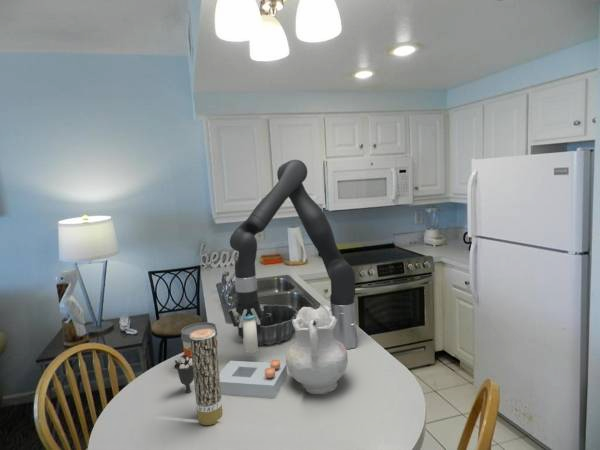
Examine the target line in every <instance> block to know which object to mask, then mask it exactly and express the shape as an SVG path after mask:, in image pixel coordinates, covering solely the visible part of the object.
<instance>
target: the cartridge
mask: <svg viewBox="0 0 600 450" xmlns="http://www.w3.org/2000/svg"><path fill="white" fill-rule="evenodd" d="M240 317H241V315H240ZM255 318H256V315H250V314H248V316H245V317H243V320H244V322H243V325H242V327H243V338H242V341H243V352H244V353H246V354H252V353H256V352H258V351H259V344H258V340H257V327H256V320H255Z"/></svg>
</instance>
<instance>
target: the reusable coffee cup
mask: <svg viewBox="0 0 600 450" xmlns="http://www.w3.org/2000/svg"><path fill="white" fill-rule="evenodd" d="M200 329H213V330H215V334H216V337H217V336H218V329H217V326H216V324H215V323H213V322H209V321H208V322H207V321H206V322H205V321H204V322H203V321H202V322H196V323H191V324H189V325H186V326H184V327H183V328H181V330H180V331H181V332H180V333H181V334H180V335H181V337H180V338H181V339H180V340H181V341H182V344H183V345H182V349H183V350H182V351H183V354H184V353H186V352H187V351H188V352H187V355H189V352H190V355H192V353H191V349H189V348H191V343H190V334H191V333H192V332H194V331H196V330H200ZM216 345H217V346H218V340H217V338H216ZM188 349H189V350H190V351H189V350H188Z"/></svg>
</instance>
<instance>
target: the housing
mask: <svg viewBox="0 0 600 450" xmlns="http://www.w3.org/2000/svg"><path fill="white" fill-rule="evenodd" d="M266 368H270V362H264V361H263V362H262V361H259V362H258V361H241V360H240V361H239V360H229V362H228V363H227V364H226V365H225V366H224V367H223V369H221V371H219V379H220V390H221V395H225V396H237V397H238V396H239V397H250V398H251V397H253V398H264V399H265V398H267V399H276V397H277V395H278V393H279V391H280V390H281V388H282V386H283V384H284V382H285V381H286V378H287V377H288V367H287V363H281V362H280V368H278V369H277V371H275V376H274V377H272V379H269V378H268V377H265V371H264V370H265V369H266Z"/></svg>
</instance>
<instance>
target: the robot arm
mask: <svg viewBox="0 0 600 450" xmlns="http://www.w3.org/2000/svg"><path fill="white" fill-rule="evenodd" d="M276 173H277V174H276V176H277V180H278V181H277V183H276V184H275V185H274V187H272V189H271V190H270V191H269V192H268V194H266V196H264V197H263V199H261V201H259V203H258V204H257V205H256V206H255V207H254V209H253V211H251V213H250V215H249V216H248V217H247V219H245V220H244V221H243V222H242V223H241V224H240V225H239V226H238V227H237V228H236V229H235V230H234V231H233V232H232V234H231V236H230V238H229V246H230V248H232V249H233V250H235V251H236V252H238V257H237V260H235V262H234V275H235V279H234V280H235V281H234V289H235V297H236V299H235V300H236V306H235V307H234V308H228V310H227V312H228V313H229V316H230V320H231V323H232V325H233V327H234V328H238V329H237V330H238V336H239V337H240V338H241V339H243V327H242V325H243V322H244V320H243V317H245V316H248V314H250V315H256V318H255V320H256V327H257V335H259V333H261V326H260V324H261V323H263V322H265V321H266V315H267V309H268V307H267V305H268V304H267V303H264V304H260V303H259V292H258V291H259V289H258V281H257V274H256V273H257V272H256V259H257V251H258V241H257V239H256V237H255V236H256V235H257V234H258V233H262V232H263V231H264V230H265V229H266V228H267V226H268V225H269V224H270V222H271V220H273V218H274V217H275V215H276V214H277V212H279V210H280V209H281V207H282V205H283V204H284V203H285V202H286V200H287V199H288V198H289V200H290V202H291V204H292V205H293V207H294V210H295V212H296V214H297V216H298V217H299V219H300V221H301V224H302V226H303V228H304V230H305V232H306V234H307V236H308V238H309V239H310V241H311V242H312V244H313V245H314V247H315V249H316V251H317V252H318V254H319V255H320V258H321V260H322V262H323V265H324V268H325V271H326V274H327V276H328V278H329V279H330V289H331V290H330V297H329V300H330V303H329V304H330V309H331V311H332V315H333V316H334V317H335V318H336V319H337V322H336V325H335V327H334V331H333V337H334V338H335V339H336V340H337V341H339V342H341V343H342V344H343V345H344V347H345V348H346V350H350V349H356V348H357V343H358V334H357V319H356V311H355V309H356V308H355V295H356V276H355V270H354V268H353V267H352V266H351V264H349V263H348V262H347V261H346V260H345V258H344V257H343V254H342V253H341V251H340V250H339V248H338V246H337V244H336V239H335V236H334V232H333V229H332V227H331V224H330V222H329V220H328V218H327V216H326V214H325V212H324V211H323V209H322V207H320V206H319V205H318V204H317V203H316V202H315V200H313V198H312V197H311V196H310V195H309V194H308V192H307V190H306V188H305V186H304V184H303V183H304V181H305V180H306V179H307V176H308V167H307V165H306V164H305V163H304V162H303V161H302V160H300V159H291V160H288V161H287V162H285V163H283V164H280V166H279V167H278V169H277V172H276ZM259 308H261V310H262V315H261V318H260V319H259V318H258V316H257V314H256V313H257V311H258V310H259ZM236 312H237V314H240V315H241V317H239V321H238V322H236V321H235V318H236V317H235V315H236Z"/></svg>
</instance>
